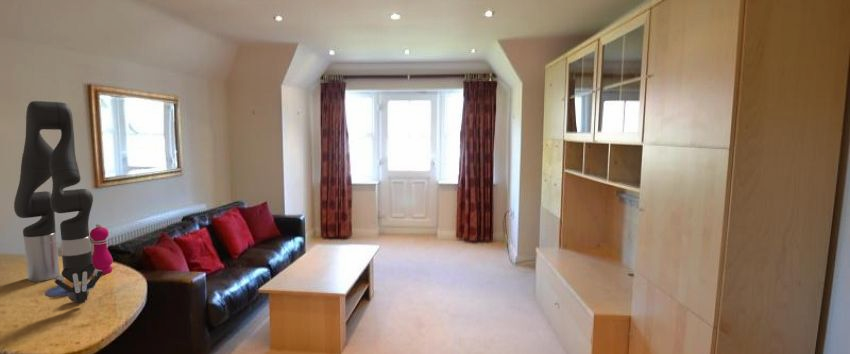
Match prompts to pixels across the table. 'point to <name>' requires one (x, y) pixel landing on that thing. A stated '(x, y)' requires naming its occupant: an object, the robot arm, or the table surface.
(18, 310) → the table surface
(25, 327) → the table surface
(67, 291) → the object ball
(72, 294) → the gray ball
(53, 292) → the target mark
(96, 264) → the pepper mill
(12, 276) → the table surface
